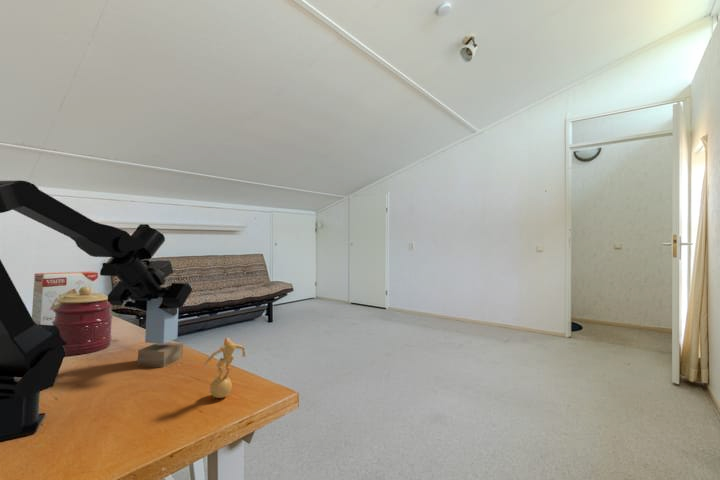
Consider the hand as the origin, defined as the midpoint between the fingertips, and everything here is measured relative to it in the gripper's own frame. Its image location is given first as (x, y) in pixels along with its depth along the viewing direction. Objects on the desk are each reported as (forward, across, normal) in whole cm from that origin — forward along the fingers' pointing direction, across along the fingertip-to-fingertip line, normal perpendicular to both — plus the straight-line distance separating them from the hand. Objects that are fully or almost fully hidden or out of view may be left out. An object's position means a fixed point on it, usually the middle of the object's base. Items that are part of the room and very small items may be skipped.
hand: (166, 313), depth 84 cm
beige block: (+8, 0, +10) cm, 12 cm away
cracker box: (+17, +43, 0) cm, 46 cm away
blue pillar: (+4, 0, +6) cm, 7 cm away
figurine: (-4, -26, +21) cm, 34 cm away
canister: (+12, +29, +6) cm, 31 cm away
